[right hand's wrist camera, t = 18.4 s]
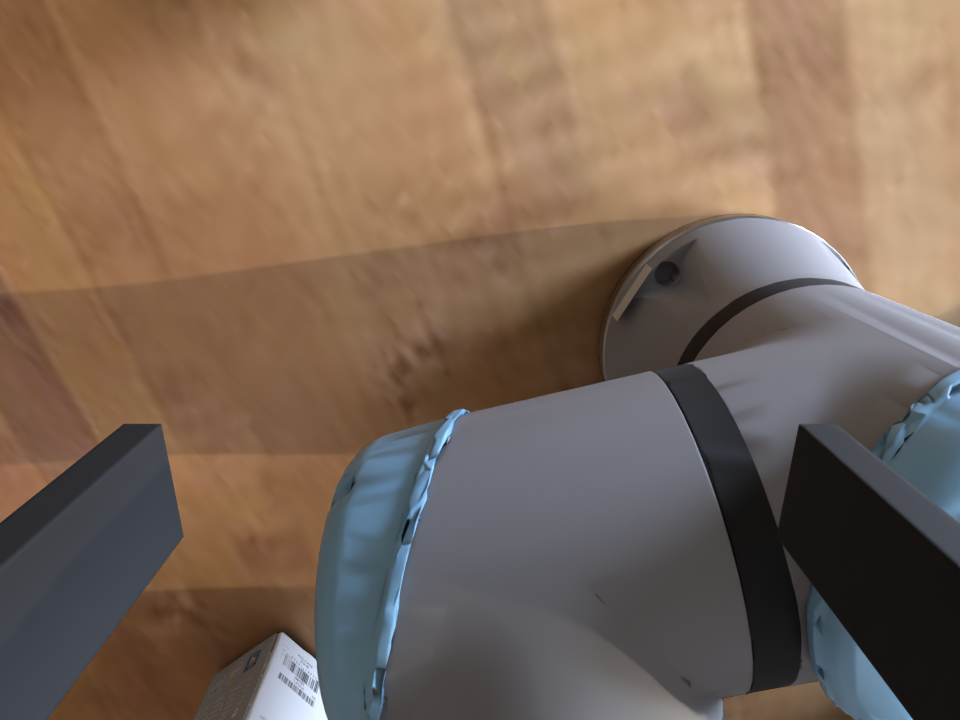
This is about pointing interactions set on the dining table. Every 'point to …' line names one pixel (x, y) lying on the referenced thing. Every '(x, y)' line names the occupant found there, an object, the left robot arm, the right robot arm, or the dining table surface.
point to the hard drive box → (266, 685)
